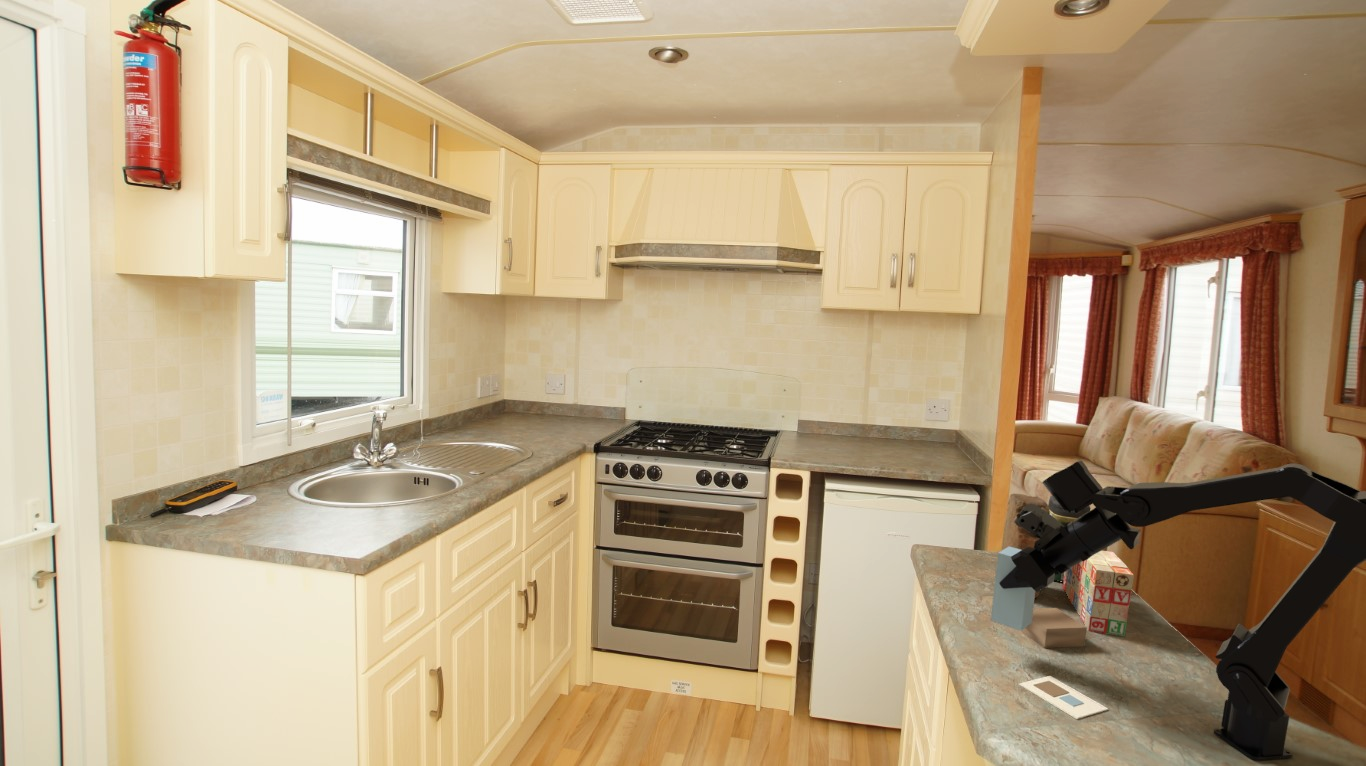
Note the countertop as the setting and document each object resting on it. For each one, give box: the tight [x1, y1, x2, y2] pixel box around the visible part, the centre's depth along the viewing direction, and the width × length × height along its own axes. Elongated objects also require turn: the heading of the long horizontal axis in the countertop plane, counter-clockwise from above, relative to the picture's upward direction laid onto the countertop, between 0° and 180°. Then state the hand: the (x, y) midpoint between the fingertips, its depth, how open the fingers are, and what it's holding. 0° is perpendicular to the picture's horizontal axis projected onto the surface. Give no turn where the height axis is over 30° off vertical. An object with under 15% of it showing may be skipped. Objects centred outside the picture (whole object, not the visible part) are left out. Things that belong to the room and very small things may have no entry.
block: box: [1001, 493, 1050, 599], centre depth 153 cm, size 11×8×20 cm
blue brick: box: [990, 547, 1035, 632], centre depth 123 cm, size 5×5×12 cm
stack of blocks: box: [1062, 550, 1134, 637], centre depth 145 cm, size 21×6×12 cm, turn 165°
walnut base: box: [1021, 607, 1088, 649], centre depth 133 cm, size 8×8×4 cm
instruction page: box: [1019, 675, 1109, 720], centre depth 112 cm, size 10×7×1 cm
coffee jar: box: [1047, 495, 1092, 583], centre depth 162 cm, size 10×8×19 cm
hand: (1007, 581), depth 124 cm, fingers closed on blue brick, 5 cm apart
